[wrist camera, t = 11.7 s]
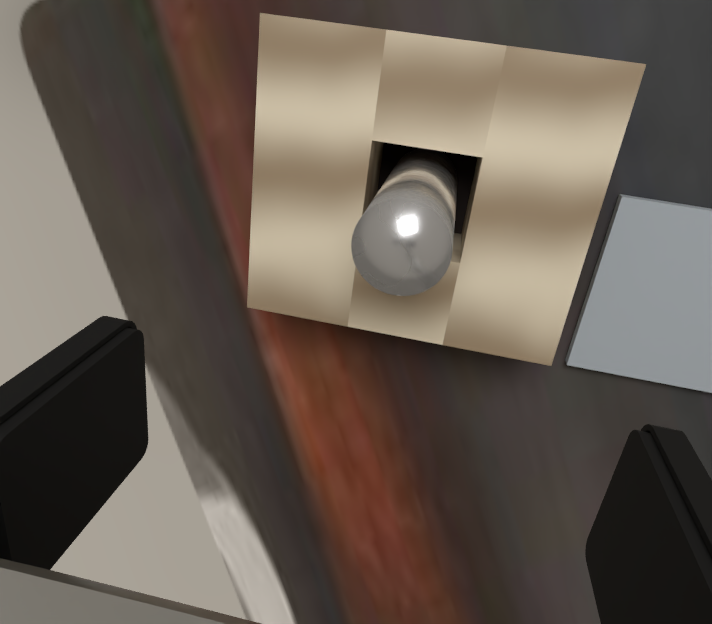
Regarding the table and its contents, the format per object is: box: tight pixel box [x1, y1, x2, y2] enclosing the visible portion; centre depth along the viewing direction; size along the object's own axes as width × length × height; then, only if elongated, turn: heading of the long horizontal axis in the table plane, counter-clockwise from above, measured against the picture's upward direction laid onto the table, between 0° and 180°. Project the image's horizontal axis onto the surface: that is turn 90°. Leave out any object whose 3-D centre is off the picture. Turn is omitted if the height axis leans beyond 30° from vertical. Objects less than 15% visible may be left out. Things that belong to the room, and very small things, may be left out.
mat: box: [565, 194, 712, 393], centre depth 31 cm, size 10×10×1 cm
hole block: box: [247, 13, 646, 366], centre depth 29 cm, size 14×16×5 cm
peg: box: [351, 148, 458, 296], centre depth 25 cm, size 4×4×12 cm
